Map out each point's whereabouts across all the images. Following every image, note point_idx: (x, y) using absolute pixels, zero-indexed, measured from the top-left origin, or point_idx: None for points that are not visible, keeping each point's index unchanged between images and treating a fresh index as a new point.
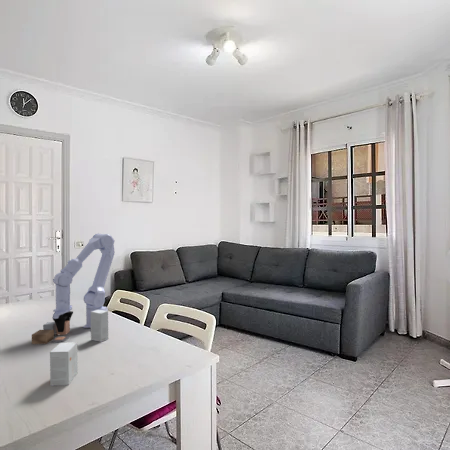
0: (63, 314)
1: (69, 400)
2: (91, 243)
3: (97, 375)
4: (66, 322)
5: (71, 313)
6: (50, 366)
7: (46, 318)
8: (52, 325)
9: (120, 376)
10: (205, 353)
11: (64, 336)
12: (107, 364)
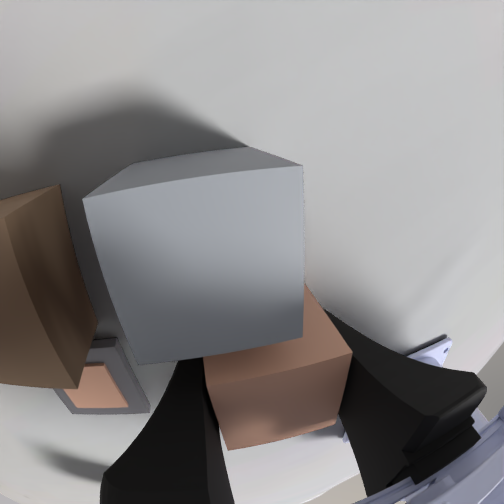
0: (395, 446)
1: None
2: None
3: (5, 484)
4: (265, 439)
5: (368, 494)
6: None
7: None
8: (139, 355)
9: (29, 501)
10: None
11: (137, 393)
12: (42, 496)
